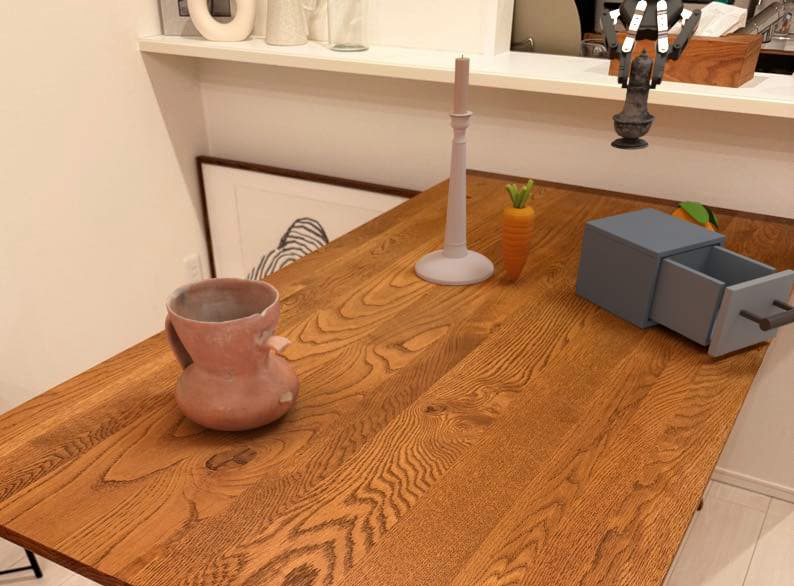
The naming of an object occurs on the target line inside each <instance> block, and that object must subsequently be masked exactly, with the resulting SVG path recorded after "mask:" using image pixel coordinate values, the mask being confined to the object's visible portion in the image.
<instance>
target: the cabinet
mask: <svg viewBox="0 0 794 586" xmlns="http://www.w3.org/2000/svg"><path fill="white" fill-rule="evenodd" d="M582 233H583V234H582V240H581V248H580V253H579V259H578V268H577V275H576V281H575V288H574V294H575V295H577V296H579V297H581V298H582V299H585V300H587V301H588V302H590V303H592V304H594V305H596V306H598V307H600V308H602V309H604V310H605V311H607V312H609V313H611V314H612V315H615V316H616V317H619V318H620V319H623V320H624V321H627V322H628V323H630V324H632V325H633V326H636V327H637V328H639V329H641V330H643V329H647V328H650V327H653V326H656V325H661V324H660V323H658V322H656V321H654V320H652V319H650V318H648V316H649V311H650V306H651V302H652V297H653V292H654V288H655V283H656V278H657V274H658V269H659V264H660V260H661V258H662V257H666V256H669V255H673V254H677V253H681V252H685V251H689V250H693V249H697V248H701V247H705V246H709V245H713V244H714V245H717V246H720V247H722V248H724V246H725V244H726V243H725V241H726V238H727V235H725V234H723V233H719V232H718V231H715V230H714V231H712V230H709V229H707V228H704V227H701V226H698V225H696V224H693V223H690V222H688V221H685V220H682V219H680V218H677V217H674V216H672V214H669V213H665V212H663V211H661V210H658V209H656V208H653V207H646V208H642V209H637V210H633V211H629V212H624V213H620V214H615V215H611V216H607V217H601V218H598V219H592V220H589V221H585V222H584V228H583V232H582Z"/></svg>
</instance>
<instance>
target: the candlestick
mask: <svg viewBox="0 0 794 586" xmlns="http://www.w3.org/2000/svg"><path fill="white" fill-rule="evenodd" d="M454 59H455V60H454V84H453V85H454V86H453V89H454V90H453V110H450V111H448V112H447V114H448V115H449V117H450V119H451V122H450V127H451V128H452V129H453V139H452V140H451V143H452V144H451V157H450V167H449V168H450V169H449V170H450V171H449V180H448V181H449V182H448V193H447V194H448V195H447V205H446V206H447V207H446V219H445V220H446V221H445V230H444V240H443V242H444V243H443V249H439V250H434V251H432V252H428V253H427V254H425V255H423V256H422V257H421V258H420V259H418V260H417V261H416V262H415V265H414V272H415V275H416V276H417V277H418V278H420V279H422V280H424V281H426V282H428V283H432V284H435V285H441V286H467V285H473V284H478V283H481V282H484V281H486V280H488V279H490V278H491V277H492V276H493V275H494V272H495V271H494V270H495V266H494V263H493V262H492V261H491V260H490V259H489V258H488V257H487V256H485V255H484V254H482V253H480V252H477V251H475V250H471V249H468V247H467V139H466V133H467V128H468V127H469V126H470V121H469V119H470V117H471V116H472V115H473V114H474V112H473V111H470V110H468V106H469V84H470V60H471V58H470V57H464V54H462V55H461V57H456V58H454Z"/></svg>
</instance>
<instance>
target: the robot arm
mask: <svg viewBox="0 0 794 586" xmlns="http://www.w3.org/2000/svg"><path fill="white" fill-rule="evenodd" d="M702 14H703V12H702V10H701V9H700V8H696V9H693V10H692V11H691V10H688V9H685V5H684V3H683V0H622V2H621V4H619V6H618V9H615V10H611V11H610V10H609V9H608V8H603V9H601V11H600V16H599V26H598V27H599V31H600V34H601V37H602V41H603V44H604V48H605V51H606V55H607V58H608V60H611V61H614V60H617V61H618V62H619V65H618V73H617V84H618V85H621V87H620V88H621V89H626V88H627V84H628V82H629V76H630V69H631V63H632V55H633V53H634V51H635V48H636V47H637V43H638V41H639V42H641V41H645V40H648V41H651V42H654V43H653V44H654V51H655V57H654V61H653V67H652V73H651V80H650V85H651V87H650V90H656V88H657V86H660V85H661V84H662V83H663V78H664V73H665V68H666V67H665V66H666V63H667V62H669V61H673V62H676V61H678V60H679V59H680V58H681V56H682V54H683V53H684V52H685V50H686V48H687V46H688V45H689V43H690V41H691V40H692V38H693V37H694V36H695V33H696V31H697V30H698V28H699V25H700V22H701V17H702ZM619 21H620V23H621V25H622V26H623V28H624V30H625V31H626V36H625V39H624V42H623V44H622V43H620V42H619V39H618V36H617V33H616V28H617V24H618V22H619ZM679 21H681V24H680V29H681V30H680V31H679V33H678V34H677V36H676V38H675V40H674V41H673V43H670V44H669V40H668V34H669V32H670V31H671V30H672V29H673V28H674V26H676V24H677V23H678V22H679Z"/></svg>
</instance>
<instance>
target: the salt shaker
mask: <svg viewBox="0 0 794 586" xmlns="http://www.w3.org/2000/svg"><path fill="white" fill-rule="evenodd" d="M646 53H647V48H646V47H645V46H644V47H643V48H642V50H641V54H639V55H638V56H635V57H634V58H633V59H632V60H631V62H630V69H629V75H628V82H627V88H625V89H626V93H625V100H624V104H623V107H622V110H621V111H620V112H618V113H616V114H614V115H612V120H613V128H614V132H615V133H616V135H617V136H619V138H616V139H615V140H613V141H612V142H611V143H610V146H611V147H613V148H614V149H618V150H619V149H620V150H629V151H630V150H631V151H634V150H643V149H646V148H648V147H649V143H648V142H647V141H646V140H645V139H643V138H642V137H645V136H646V135H647V134H648V133H649V132H650V129H651V128H652V126H653V122H654V121H655V120H656V116H654V115H653V114H650V112H649V111H648V100H649V94H650V90H651V89H650V87H651V80H652V74H653V68H654V60H653V58H652V57H651V56H650V55H648V54H646Z"/></svg>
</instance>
